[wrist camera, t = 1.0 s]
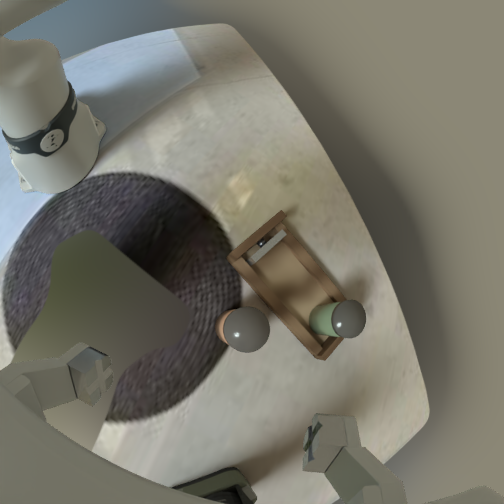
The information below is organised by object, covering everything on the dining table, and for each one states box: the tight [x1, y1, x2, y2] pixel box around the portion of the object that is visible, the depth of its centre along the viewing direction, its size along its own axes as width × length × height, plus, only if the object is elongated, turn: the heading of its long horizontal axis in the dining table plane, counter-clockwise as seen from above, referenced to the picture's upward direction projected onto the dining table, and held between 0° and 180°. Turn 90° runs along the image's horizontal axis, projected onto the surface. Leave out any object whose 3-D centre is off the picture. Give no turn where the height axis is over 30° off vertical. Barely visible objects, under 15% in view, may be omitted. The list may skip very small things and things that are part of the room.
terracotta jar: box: [215, 307, 270, 353], centre depth 34 cm, size 5×5×9 cm
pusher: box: [246, 230, 287, 266], centre depth 40 cm, size 2×6×3 cm, turn 133°
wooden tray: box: [226, 210, 346, 361], centre depth 40 cm, size 21×10×4 cm, turn 42°
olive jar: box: [309, 300, 366, 338], centre depth 38 cm, size 5×5×8 cm
